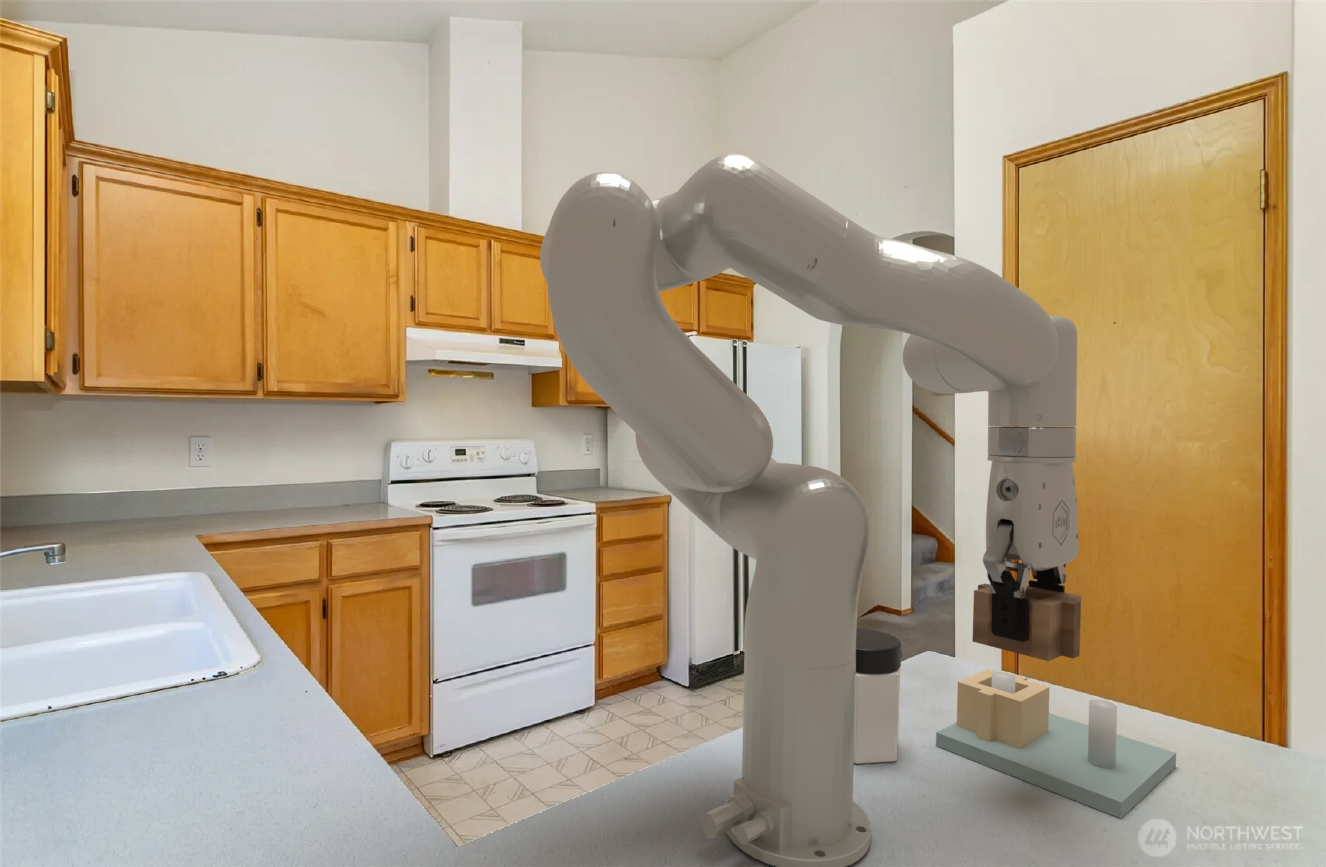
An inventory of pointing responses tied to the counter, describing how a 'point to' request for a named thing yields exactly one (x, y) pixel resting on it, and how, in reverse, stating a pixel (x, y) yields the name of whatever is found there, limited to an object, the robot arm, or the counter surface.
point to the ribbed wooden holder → (1034, 624)
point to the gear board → (1052, 743)
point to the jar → (876, 696)
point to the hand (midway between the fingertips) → (1028, 628)
